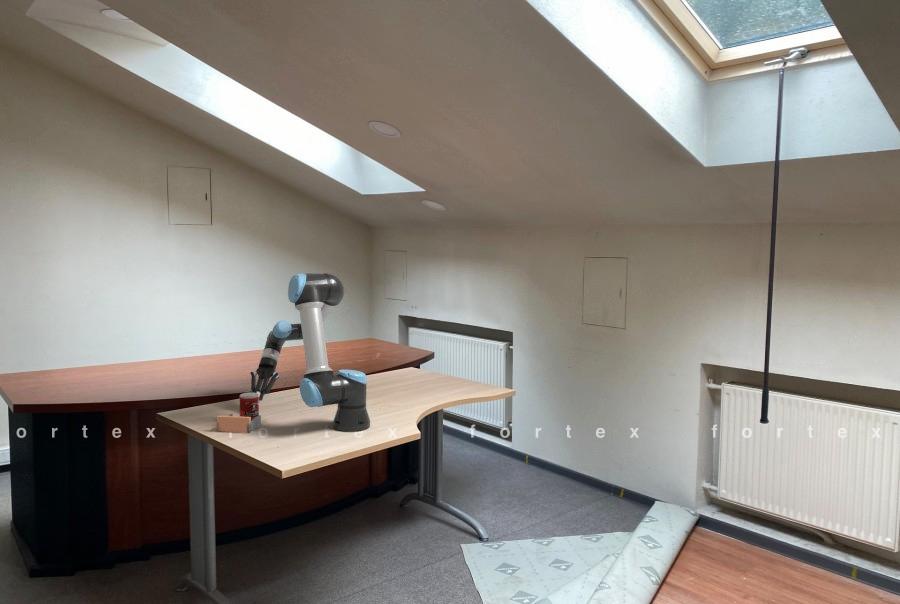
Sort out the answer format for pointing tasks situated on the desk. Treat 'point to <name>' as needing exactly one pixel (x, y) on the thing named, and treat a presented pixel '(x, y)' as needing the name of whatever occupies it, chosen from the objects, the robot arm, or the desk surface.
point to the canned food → (249, 405)
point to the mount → (237, 423)
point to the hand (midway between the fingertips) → (255, 406)
